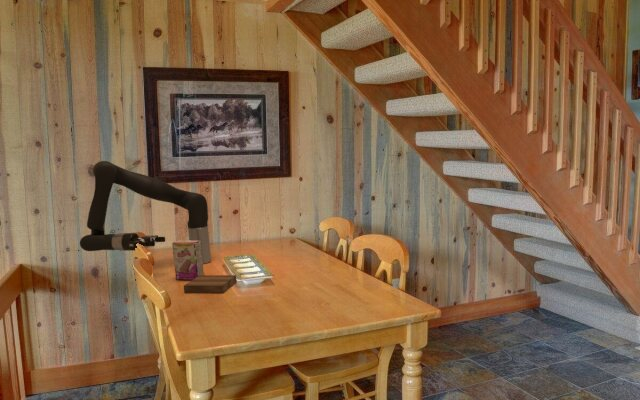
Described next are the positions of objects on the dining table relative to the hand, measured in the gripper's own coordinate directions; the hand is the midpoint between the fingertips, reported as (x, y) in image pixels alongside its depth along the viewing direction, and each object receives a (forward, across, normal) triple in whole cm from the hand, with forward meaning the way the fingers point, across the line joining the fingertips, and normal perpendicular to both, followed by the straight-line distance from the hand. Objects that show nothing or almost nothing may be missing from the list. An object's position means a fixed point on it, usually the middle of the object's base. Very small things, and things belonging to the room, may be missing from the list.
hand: (159, 241), depth 226 cm
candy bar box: (+12, 0, +17) cm, 21 cm away
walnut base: (+27, -12, +16) cm, 34 cm away
